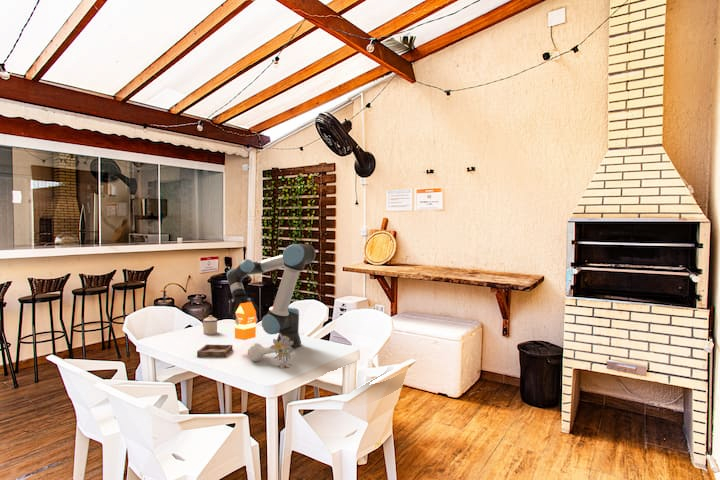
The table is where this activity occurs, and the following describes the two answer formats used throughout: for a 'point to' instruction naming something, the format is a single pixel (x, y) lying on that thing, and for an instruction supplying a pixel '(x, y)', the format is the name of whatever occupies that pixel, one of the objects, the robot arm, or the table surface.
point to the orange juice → (245, 321)
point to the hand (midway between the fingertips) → (247, 322)
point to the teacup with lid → (210, 325)
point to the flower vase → (273, 350)
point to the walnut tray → (214, 351)
